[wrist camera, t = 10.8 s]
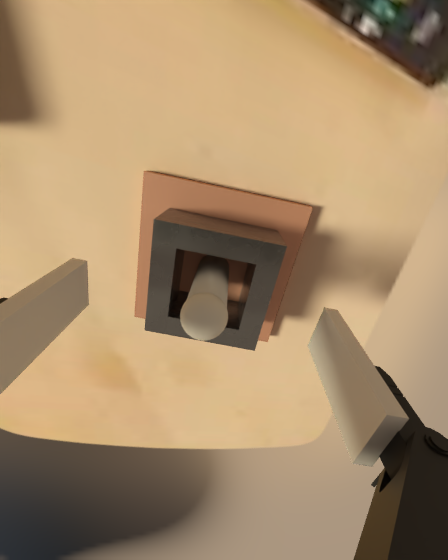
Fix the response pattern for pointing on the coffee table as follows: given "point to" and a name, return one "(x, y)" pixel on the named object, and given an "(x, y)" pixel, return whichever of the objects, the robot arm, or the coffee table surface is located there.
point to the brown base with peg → (211, 269)
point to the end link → (222, 243)
